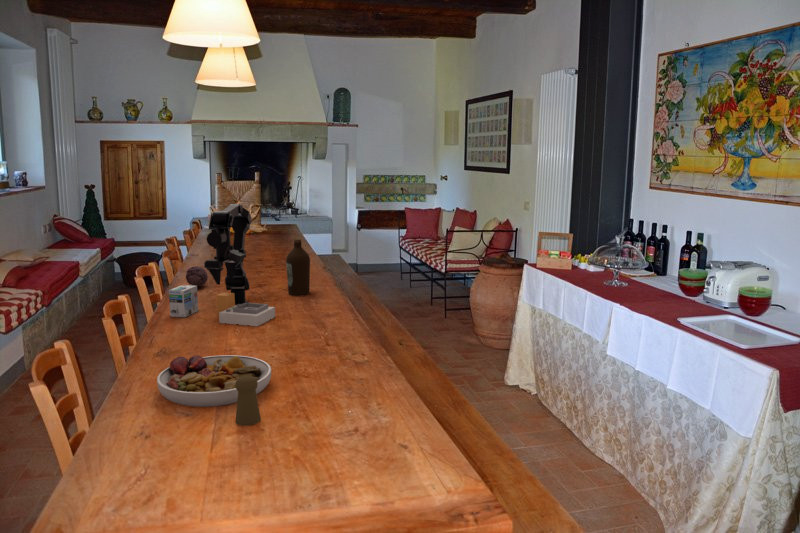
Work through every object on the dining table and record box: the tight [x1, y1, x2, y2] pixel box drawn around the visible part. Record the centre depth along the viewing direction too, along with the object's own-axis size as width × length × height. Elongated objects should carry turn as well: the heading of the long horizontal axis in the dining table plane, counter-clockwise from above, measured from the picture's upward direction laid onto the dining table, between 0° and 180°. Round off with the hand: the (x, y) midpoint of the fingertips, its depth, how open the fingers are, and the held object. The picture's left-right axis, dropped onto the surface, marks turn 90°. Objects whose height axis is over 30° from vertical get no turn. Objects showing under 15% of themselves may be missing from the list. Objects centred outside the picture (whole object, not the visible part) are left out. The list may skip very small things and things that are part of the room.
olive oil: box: [285, 238, 311, 297], centre depth 289 cm, size 11×11×25 cm
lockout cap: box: [216, 292, 235, 316], centre depth 255 cm, size 5×5×8 cm
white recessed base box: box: [218, 302, 276, 327], centre depth 246 cm, size 14×16×6 cm
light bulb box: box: [168, 284, 199, 318], centre depth 255 cm, size 11×7×11 cm, turn 168°
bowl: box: [156, 354, 272, 408], centre depth 176 cm, size 30×30×8 cm
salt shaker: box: [234, 376, 262, 427], centre depth 155 cm, size 6×6×11 cm
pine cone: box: [185, 265, 209, 287], centre depth 303 cm, size 18×10×10 cm, turn 21°
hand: (225, 282), depth 254 cm, fingers open, 9 cm apart
